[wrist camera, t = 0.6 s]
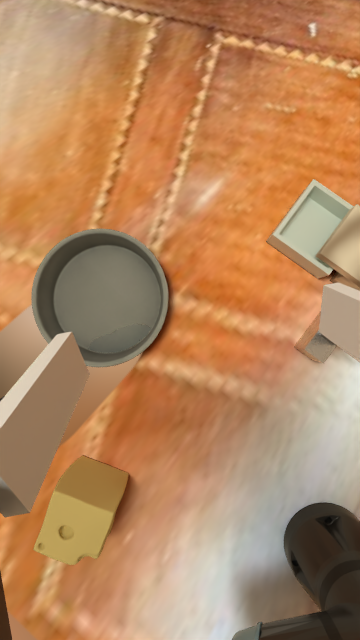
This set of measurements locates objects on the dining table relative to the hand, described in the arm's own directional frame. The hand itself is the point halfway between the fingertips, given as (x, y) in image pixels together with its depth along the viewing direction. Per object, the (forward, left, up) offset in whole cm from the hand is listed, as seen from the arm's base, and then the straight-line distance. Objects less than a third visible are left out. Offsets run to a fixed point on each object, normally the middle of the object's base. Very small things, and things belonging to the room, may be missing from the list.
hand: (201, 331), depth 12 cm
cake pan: (+16, +6, -33) cm, 37 cm away
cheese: (-4, +36, -32) cm, 48 cm away
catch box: (-8, -27, -32) cm, 43 cm away
